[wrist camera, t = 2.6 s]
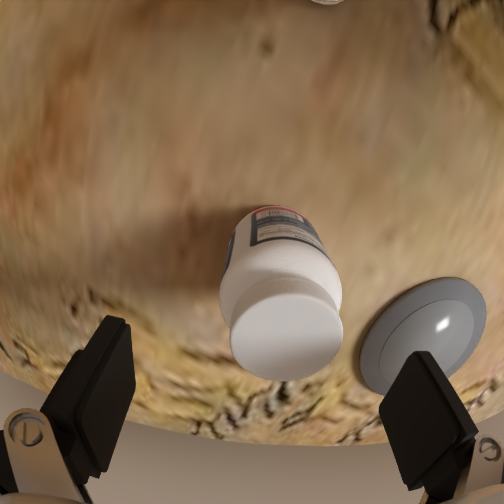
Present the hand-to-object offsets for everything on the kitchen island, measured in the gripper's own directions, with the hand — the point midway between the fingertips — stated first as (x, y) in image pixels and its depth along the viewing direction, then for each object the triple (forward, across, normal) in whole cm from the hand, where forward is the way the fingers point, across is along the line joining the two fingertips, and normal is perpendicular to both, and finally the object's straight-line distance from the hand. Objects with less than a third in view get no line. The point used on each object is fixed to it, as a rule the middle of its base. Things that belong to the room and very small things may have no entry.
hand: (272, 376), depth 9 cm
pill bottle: (+10, -1, -1) cm, 10 cm away
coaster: (+10, -15, +5) cm, 18 cm away
